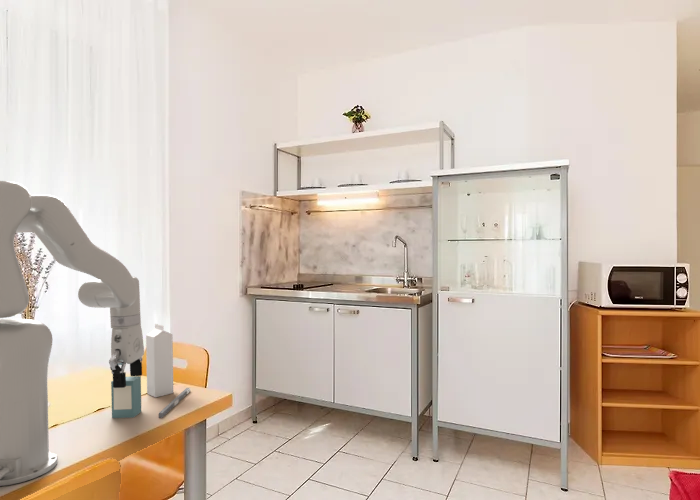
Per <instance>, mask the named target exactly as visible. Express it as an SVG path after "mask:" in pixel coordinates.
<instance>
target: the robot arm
mask: <svg viewBox="0 0 700 500" xmlns="http://www.w3.org/2000/svg"><path fill="white" fill-rule="evenodd" d="M18 233H21V234H22V233H33V234H35V235H36V236H37V238H38V239H39V240H40V242H41V243H42V244H43V246H44V247H45V248H46V249H47V251H48V252H49V253H50V255H51V256H52V257H53V259H54V260H55V261H56V263H58V264H59V265H61V266H63V267H66V268H69V269H71V270H74V271H77V272H80V273H84V274H87V275H88V276H89V275H90V276H91V277H93V278H94V279H90V280H89V279H88V280H87V281H85V282H83V284H81V286H80V287H79V289H78V291H77V292H78V293H77V297H78V300H79V302H80V303H82V305H83V306H86V307H89V308H94V309H95V308H97V309H98V308H99V309H101V308H103V309H105V308H109V317H110V319H109V320H110V329H111V339H110V341H111V343H110V350H111V351H110V354H111V357H110V359H109V360H108V363H109V366H110V367H109V368H110V370H111V374H112V381H113V387H114V388H124V387H126V377H127V376H126V373H127V372H126V371H125V369H126V365H129V372H130V374H129V377H133V376H141V377H142V376H143V356H144V354H145V346H144V335H143V329H142V321H141V318H142V317H141V316H142V315H141V299H140V298H141V297H140V296H141V295H140V292H141V291H140V280H139V278H137V276H133V275H132V274H131V273H130V271H129V269H128V268H127V267H126V266H125V265H124V263H122V261H120V260H119V259H117V258H116V257H115V256H113V255H111V254H110V253H108V252H107V251H105V250H104V249H102V248H100V247H99V246H97V245H96V244H95V243H93V242H92V241H91V240H90V238H89V237H88V235H87V234H86V232H85V231H84V230H83V228H82V226H81V225H80V224H79V222H78V220H77V218H76V217H75V215H74V214H73V213H72V210H70V208H69V207H68V205H67V204H66V203H65V202H64V200H63V199H62V198H60V197H58V196H55V195H51V194H31V193H30V191H29V190H28V188H27V187H26V186H24V185H23V184H22V183H19V182H15V181H9V180H0V487H1V486H4V487H5V486H10V485H15V484H20V483H24V482H27V481H29V480H33V479H35V478H38V477H40V476H43V475H45V474H46V473H48V472H50V471H51V470H52V469H54V468H55V467H56V466H57V465H58V463H59V462H58V461H59V459H58V455H57V454H56V453H54V452H51V451H50V449H49V448H50V447H49V404H48V403H49V397H48V396H49V394H48V392H49V389H48V374H49V373H48V371H49V363H50V358H51V357H50V356H51V352H52V349H53V348H52V347H53V334H52V331H51V329H50V328H49V327H48V326H47V325H46V324H44V323H43V322H41V321H38V320H35V319H30V318H28V319H27V318H12V317H15V316H18V315H20V314H22V313H24V312H25V310H26V309H27V308H28V306H29V302H30V294H29V290H28V287H27V283H26V281H25V277H24V275H23V272H22V268H21V267H20V263H19V261H18V256H17V253H16V250H15V244H14V243H15V236H16V234H18Z"/></svg>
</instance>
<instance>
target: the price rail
mask: <svg viewBox="0 0 700 500" xmlns="http://www.w3.org/2000/svg"><path fill="white" fill-rule="evenodd" d="M189 393H191V387H186V388H184V390H182V392H180V393H179V394H178V395H177V396H176V397H175V398H174V399H172V400H171V402H169V403H168V404H167V405H166V406H165V407H164V408H163V409H162V410H160V411H159V412H158V418H164V416H166V415H167V414H168V413H169V412H170V411H171V410H172V409H173V408H174V407H176V406H177V405H178V404H179V403H180V401H181V400H183V399H184V398H185V397H186V396H187V395H188V394H189Z"/></svg>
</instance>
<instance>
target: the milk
mask: <svg viewBox="0 0 700 500" xmlns="http://www.w3.org/2000/svg"><path fill="white" fill-rule="evenodd" d="M173 340H174V339H173V333H170V332H168V331H166V330H164V325H162V324H158V323H155V324H154V329H152V330H151V331H150V332H148V333H146V334H145V343H146V344H145V346H146V347H145V348H146V353H145V356H146V394H148V395H149V396H151V397H153V398H159V397H163V396H166V395H170V394H173V393H174V348H173V347H174V346H173V344H174V343H173Z"/></svg>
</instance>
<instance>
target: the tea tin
mask: <svg viewBox="0 0 700 500" xmlns="http://www.w3.org/2000/svg"><path fill="white" fill-rule="evenodd" d="M110 382H111V383H110V385H111V386H110V389H111V419H125V418H127V419H128V418H131V419H132V418H135V417H136V416H137V415H139V414H140V413H142V375H141V376H126V387H124V388H114V387H113V380H112V381H110Z"/></svg>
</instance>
